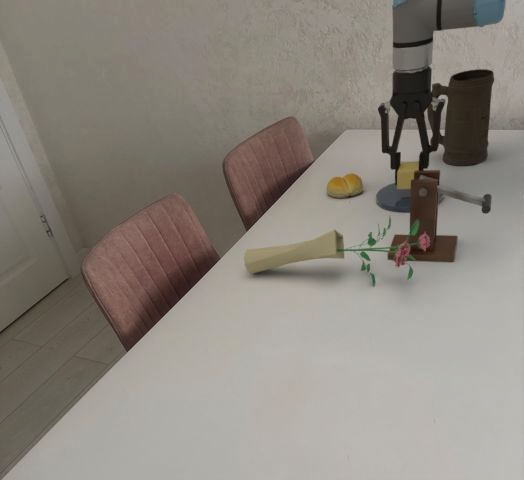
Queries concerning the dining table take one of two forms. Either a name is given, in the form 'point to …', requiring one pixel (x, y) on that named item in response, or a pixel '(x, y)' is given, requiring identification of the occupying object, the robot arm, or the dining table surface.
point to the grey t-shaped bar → (465, 196)
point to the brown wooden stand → (426, 221)
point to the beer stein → (465, 116)
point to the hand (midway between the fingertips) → (409, 182)
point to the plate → (396, 198)
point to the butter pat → (406, 174)
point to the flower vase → (327, 251)
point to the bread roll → (345, 186)
